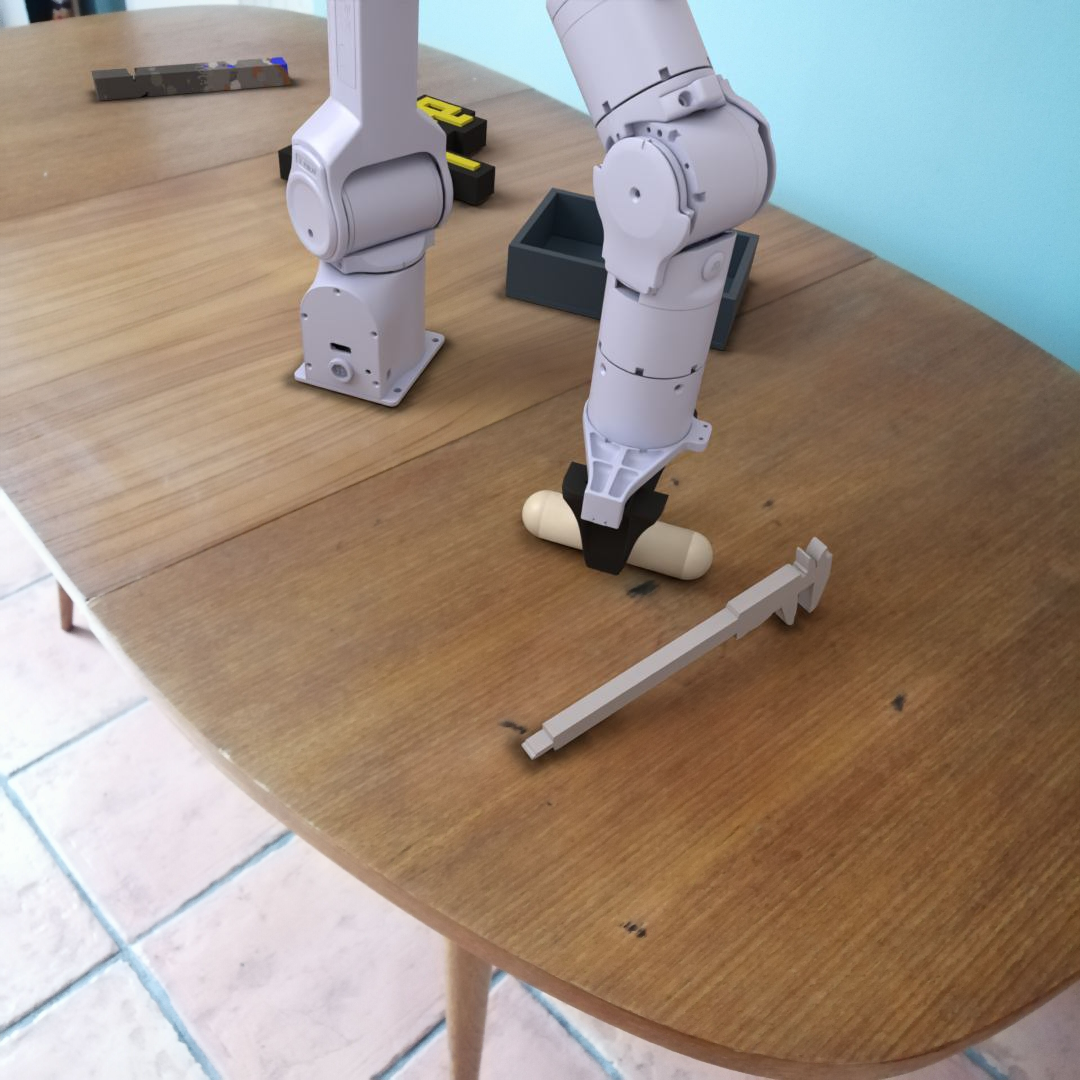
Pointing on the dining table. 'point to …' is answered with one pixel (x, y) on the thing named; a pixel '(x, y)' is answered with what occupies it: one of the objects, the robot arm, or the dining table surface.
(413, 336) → the robot arm
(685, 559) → the cream capsule shape
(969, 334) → the dining table surface
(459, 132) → the toy
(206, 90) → the pillar
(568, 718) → the caliper
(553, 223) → the bin
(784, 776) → the dining table surface
